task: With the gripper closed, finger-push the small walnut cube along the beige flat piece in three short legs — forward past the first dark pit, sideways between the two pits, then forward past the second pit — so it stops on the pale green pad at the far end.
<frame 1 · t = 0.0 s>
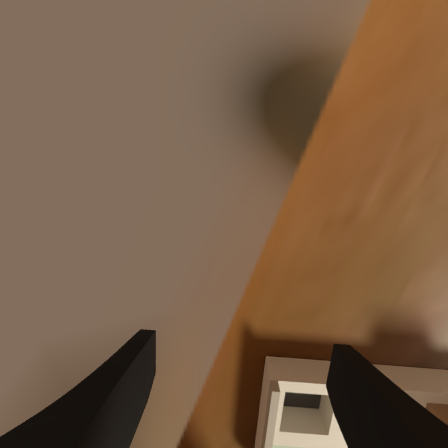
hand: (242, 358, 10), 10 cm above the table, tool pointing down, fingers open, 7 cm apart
beige flat piece: (382, 420, 23), on the table
block: (446, 425, 20), point 2 cm above the table, touching beige flat piece
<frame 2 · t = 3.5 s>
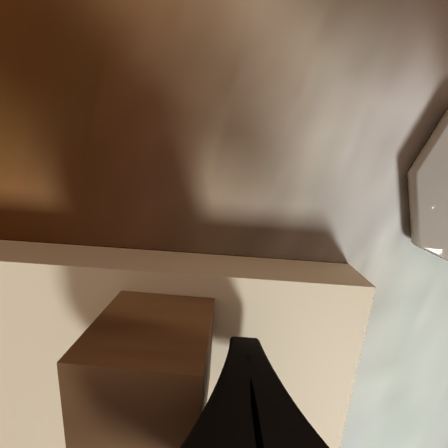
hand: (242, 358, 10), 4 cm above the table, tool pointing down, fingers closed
beige flat piece: (128, 348, 14), on the table
block: (167, 335, 11), point 3 cm above the table, touching beige flat piece, gripper
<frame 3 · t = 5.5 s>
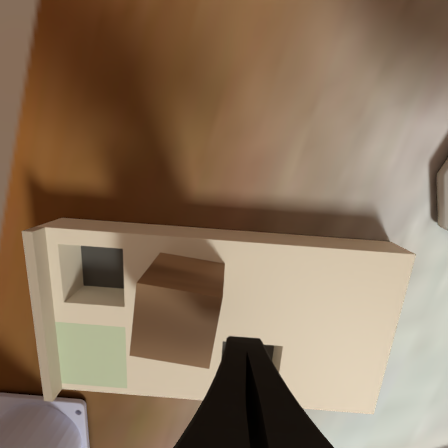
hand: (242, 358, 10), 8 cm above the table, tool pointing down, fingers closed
beige flat piece: (219, 306, 19), on the table
block: (188, 287, 16), point 2 cm above the table, touching beige flat piece
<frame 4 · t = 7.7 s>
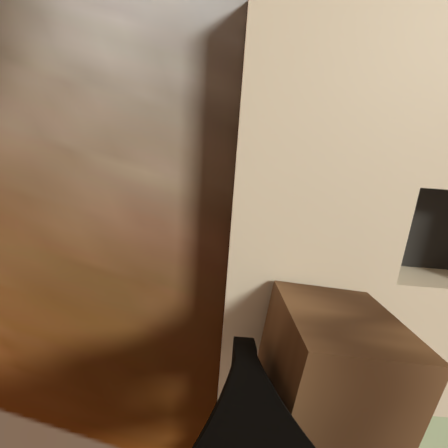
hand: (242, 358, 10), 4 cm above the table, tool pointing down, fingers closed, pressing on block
beige flat piece: (344, 267, 13), on the table
block: (310, 328, 11), point 3 cm above the table, touching beige flat piece, gripper
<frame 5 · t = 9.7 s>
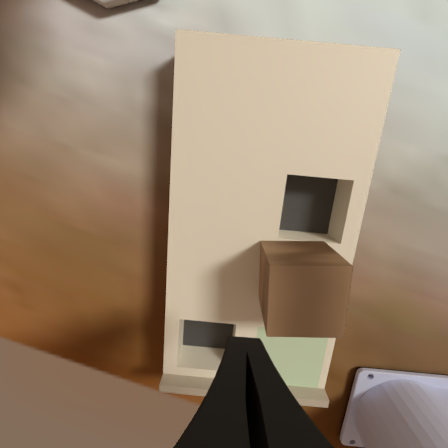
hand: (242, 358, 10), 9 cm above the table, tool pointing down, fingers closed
beige flat piece: (257, 232, 19), on the table
block: (290, 269, 17), point 2 cm above the table, touching beige flat piece
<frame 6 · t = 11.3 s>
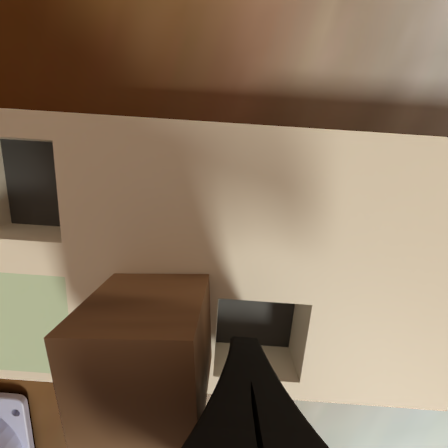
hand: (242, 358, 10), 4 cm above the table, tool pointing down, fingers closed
beige flat piece: (213, 254, 13), on the table
block: (164, 316, 11), point 3 cm above the table, touching beige flat piece, gripper
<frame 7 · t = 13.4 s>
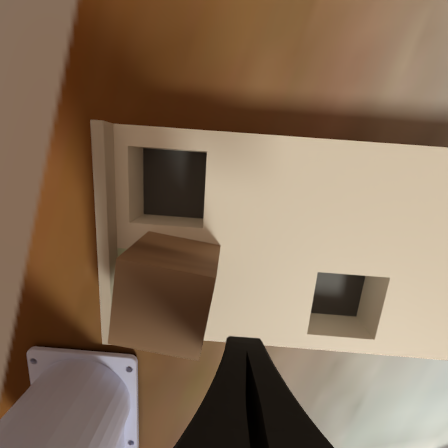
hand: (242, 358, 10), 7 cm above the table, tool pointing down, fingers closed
beige flat piece: (301, 240, 16), on the table
block: (179, 271, 14), point 2 cm above the table, touching beige flat piece
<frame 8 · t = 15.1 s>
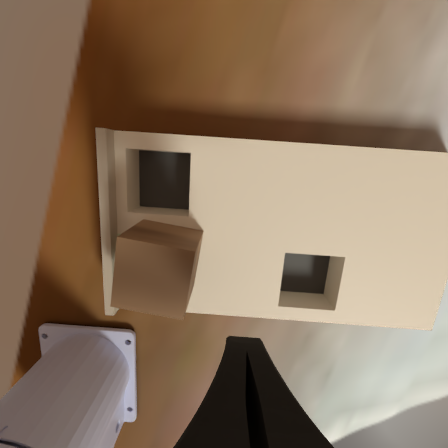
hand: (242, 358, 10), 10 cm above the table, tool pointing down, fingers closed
beige flat piece: (274, 228, 19), on the table
block: (169, 253, 17), point 2 cm above the table, touching beige flat piece
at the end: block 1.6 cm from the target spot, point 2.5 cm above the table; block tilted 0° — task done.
